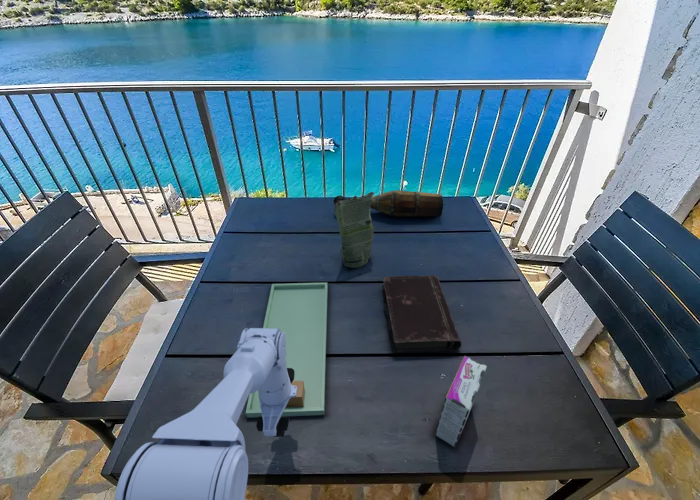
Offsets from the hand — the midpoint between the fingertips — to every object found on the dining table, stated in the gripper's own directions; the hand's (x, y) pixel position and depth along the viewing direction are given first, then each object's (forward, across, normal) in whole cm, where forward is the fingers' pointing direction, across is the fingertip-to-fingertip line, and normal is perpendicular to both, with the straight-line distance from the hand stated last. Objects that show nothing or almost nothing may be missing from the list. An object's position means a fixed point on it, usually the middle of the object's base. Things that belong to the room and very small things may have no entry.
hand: (281, 415), depth 70 cm
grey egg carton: (+10, +3, -37) cm, 38 cm away
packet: (+9, +8, +1) cm, 12 cm away
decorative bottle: (+10, +89, -30) cm, 95 cm away
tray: (+9, +25, +1) cm, 27 cm away
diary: (+10, +33, -34) cm, 48 cm away
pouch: (+10, +60, -16) cm, 63 cm away
